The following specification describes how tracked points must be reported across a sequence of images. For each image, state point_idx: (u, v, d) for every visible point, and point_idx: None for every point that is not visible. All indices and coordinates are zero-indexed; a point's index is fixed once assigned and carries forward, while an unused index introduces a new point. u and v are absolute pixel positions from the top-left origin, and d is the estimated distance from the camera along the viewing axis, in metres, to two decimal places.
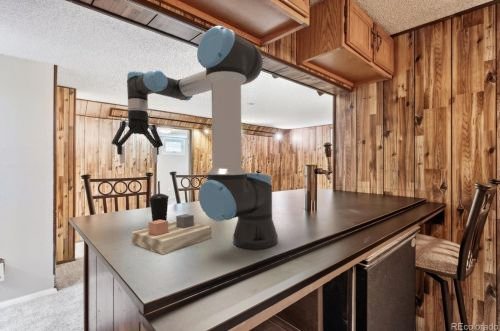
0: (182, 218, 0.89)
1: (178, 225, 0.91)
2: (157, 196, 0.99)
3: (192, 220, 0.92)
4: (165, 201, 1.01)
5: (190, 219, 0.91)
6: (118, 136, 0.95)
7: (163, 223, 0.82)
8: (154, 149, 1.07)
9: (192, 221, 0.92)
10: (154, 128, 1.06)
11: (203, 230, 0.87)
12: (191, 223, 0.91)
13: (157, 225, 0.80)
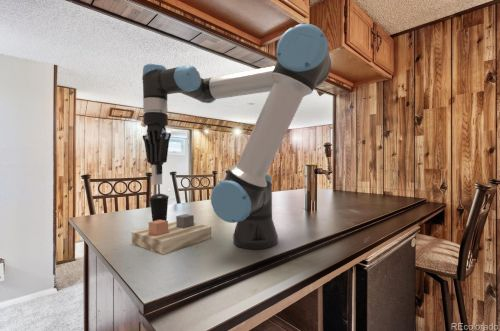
0: (182, 218, 0.89)
1: (178, 225, 0.91)
2: (157, 196, 0.99)
3: (192, 220, 0.92)
4: (165, 201, 1.01)
5: (190, 219, 0.91)
6: (146, 153, 0.84)
7: (163, 223, 0.82)
8: None
9: (192, 221, 0.92)
10: (162, 137, 0.79)
11: (203, 230, 0.87)
12: (191, 223, 0.91)
13: (157, 225, 0.80)
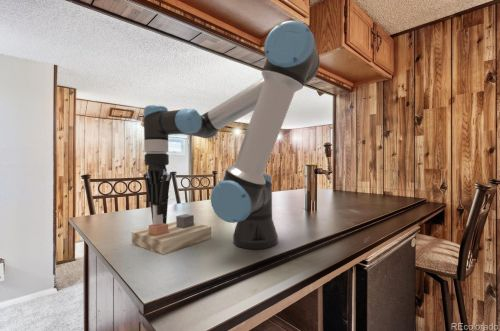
0: (182, 218, 0.89)
1: (178, 225, 0.91)
2: None
3: (192, 220, 0.92)
4: None
5: (190, 219, 0.91)
6: (147, 192, 0.84)
7: (163, 226, 0.82)
8: None
9: (192, 221, 0.92)
10: (163, 179, 0.79)
11: (203, 230, 0.87)
12: (191, 223, 0.91)
13: (157, 228, 0.80)
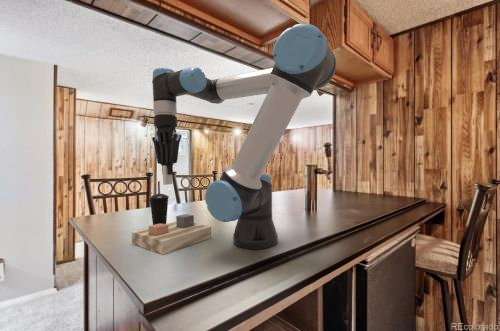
0: (182, 218, 0.89)
1: (178, 225, 0.91)
2: (157, 196, 0.99)
3: (192, 220, 0.92)
4: (165, 201, 1.01)
5: (190, 219, 0.91)
6: (156, 154, 0.86)
7: (163, 227, 0.82)
8: None
9: (192, 221, 0.92)
10: (173, 138, 0.81)
11: (203, 230, 0.87)
12: (191, 223, 0.91)
13: (157, 229, 0.80)
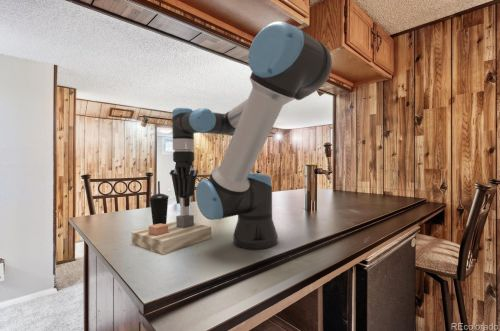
0: (182, 218, 0.89)
1: (178, 225, 0.91)
2: (157, 196, 0.99)
3: (192, 220, 0.92)
4: (165, 201, 1.01)
5: (190, 219, 0.91)
6: (175, 187, 0.93)
7: (163, 227, 0.82)
8: None
9: (192, 221, 0.92)
10: (190, 174, 0.88)
11: (203, 230, 0.87)
12: (191, 223, 0.91)
13: (157, 229, 0.80)
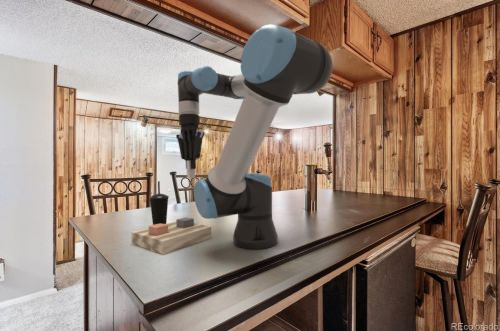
0: (182, 221, 0.89)
1: None
2: (157, 196, 0.99)
3: (192, 223, 0.92)
4: (165, 201, 1.01)
5: (190, 222, 0.91)
6: (180, 150, 0.94)
7: (163, 227, 0.82)
8: None
9: (192, 224, 0.92)
10: (197, 136, 0.89)
11: (203, 230, 0.87)
12: (191, 226, 0.91)
13: (157, 229, 0.80)
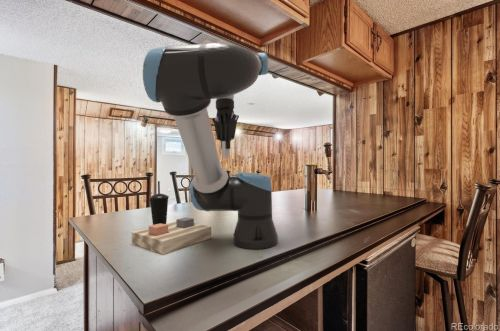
0: (182, 221, 0.89)
1: None
2: (157, 196, 0.99)
3: (192, 223, 0.92)
4: (165, 201, 1.01)
5: (190, 222, 0.91)
6: (216, 132, 1.04)
7: (163, 227, 0.82)
8: None
9: (192, 224, 0.92)
10: (232, 118, 0.98)
11: (203, 230, 0.87)
12: (191, 226, 0.91)
13: (157, 229, 0.80)
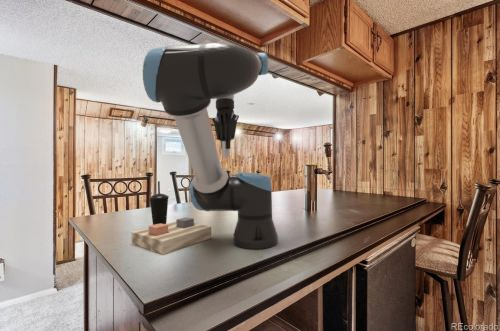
0: (182, 221, 0.89)
1: None
2: (157, 196, 0.99)
3: (192, 223, 0.92)
4: (165, 201, 1.01)
5: (190, 222, 0.91)
6: (216, 132, 1.04)
7: (163, 227, 0.82)
8: None
9: (192, 224, 0.92)
10: (232, 118, 0.98)
11: (203, 230, 0.87)
12: (191, 226, 0.91)
13: (157, 229, 0.80)
